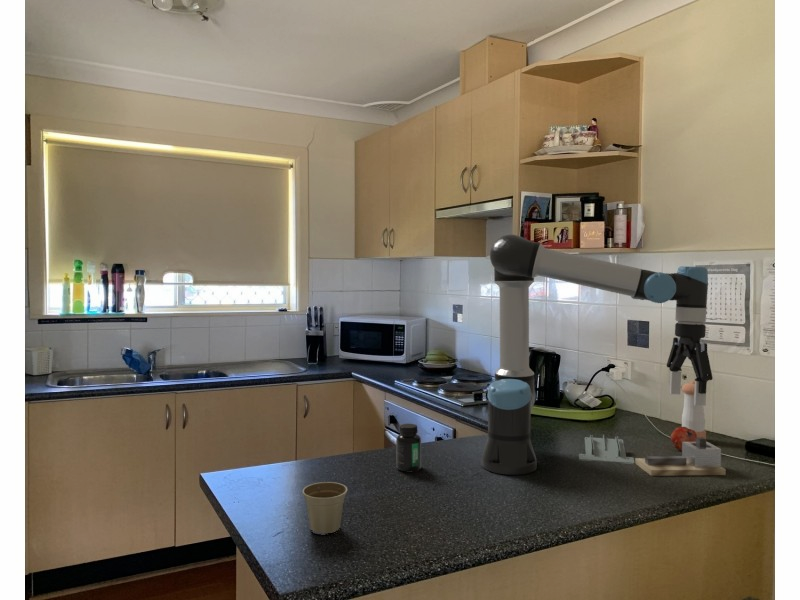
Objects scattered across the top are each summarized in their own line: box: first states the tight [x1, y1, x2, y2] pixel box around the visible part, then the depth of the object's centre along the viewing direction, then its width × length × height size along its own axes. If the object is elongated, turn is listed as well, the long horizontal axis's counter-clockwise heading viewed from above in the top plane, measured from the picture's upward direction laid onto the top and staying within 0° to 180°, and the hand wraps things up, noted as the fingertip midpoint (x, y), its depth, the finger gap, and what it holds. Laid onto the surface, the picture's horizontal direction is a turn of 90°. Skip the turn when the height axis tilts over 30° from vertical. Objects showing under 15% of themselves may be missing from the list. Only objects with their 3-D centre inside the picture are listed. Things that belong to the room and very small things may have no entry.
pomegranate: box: [670, 426, 697, 452], centre depth 178 cm, size 7×7×10 cm
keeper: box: [634, 437, 727, 477], centre depth 161 cm, size 20×10×8 cm, turn 91°
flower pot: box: [302, 481, 348, 533], centre depth 124 cm, size 9×9×9 cm
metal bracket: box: [578, 434, 636, 465], centre depth 174 cm, size 14×6×15 cm
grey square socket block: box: [681, 441, 722, 468], centre depth 161 cm, size 7×7×5 cm
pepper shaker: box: [681, 380, 707, 440], centre depth 188 cm, size 7×7×19 cm
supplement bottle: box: [395, 423, 422, 472], centre depth 162 cm, size 7×7×12 cm
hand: (686, 399), depth 162 cm, fingers open, 13 cm apart
